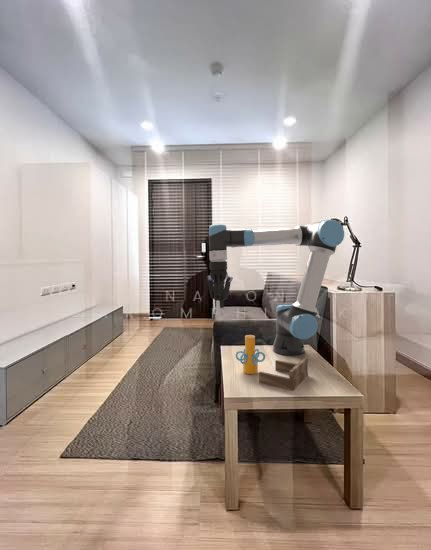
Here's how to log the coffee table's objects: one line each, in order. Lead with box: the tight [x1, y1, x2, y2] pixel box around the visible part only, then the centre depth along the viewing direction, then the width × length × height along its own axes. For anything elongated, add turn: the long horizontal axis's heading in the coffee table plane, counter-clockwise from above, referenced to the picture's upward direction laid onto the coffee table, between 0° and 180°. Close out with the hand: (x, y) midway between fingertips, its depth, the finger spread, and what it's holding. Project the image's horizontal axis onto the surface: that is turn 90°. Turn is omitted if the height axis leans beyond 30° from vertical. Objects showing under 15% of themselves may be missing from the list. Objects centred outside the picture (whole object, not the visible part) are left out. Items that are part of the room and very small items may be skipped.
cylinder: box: [235, 334, 266, 375], centre depth 130 cm, size 12×10×15 cm
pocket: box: [258, 357, 309, 392], centre depth 122 cm, size 16×13×7 cm
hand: (219, 314), depth 138 cm, fingers closed
